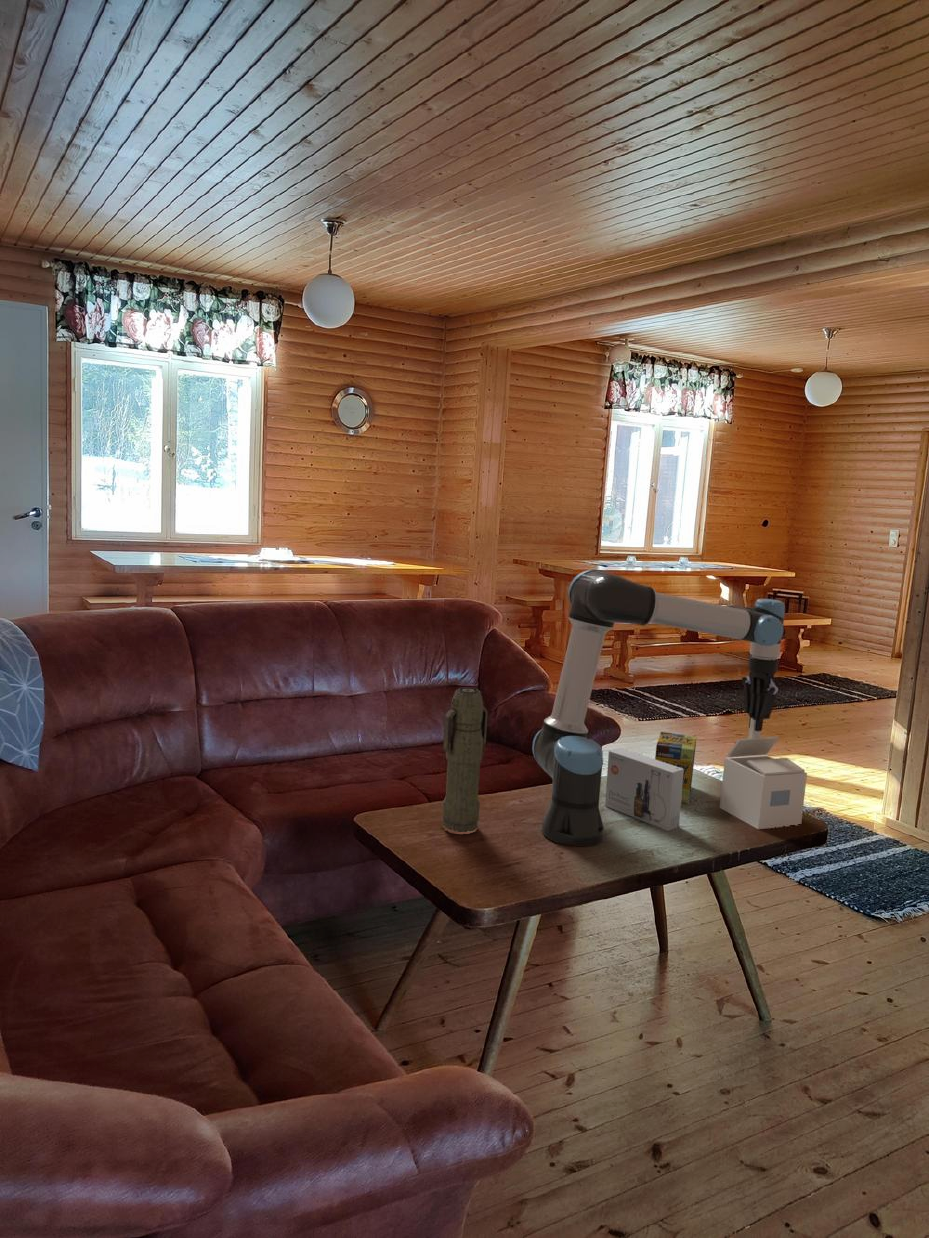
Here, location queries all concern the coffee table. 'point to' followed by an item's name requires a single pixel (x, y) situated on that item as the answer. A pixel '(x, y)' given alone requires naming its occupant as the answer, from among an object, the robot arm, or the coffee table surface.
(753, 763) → the near flap
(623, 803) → the skincare box
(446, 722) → the thermos
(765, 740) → the far flap
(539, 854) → the coffee table surface
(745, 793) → the carton
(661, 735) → the protein box
